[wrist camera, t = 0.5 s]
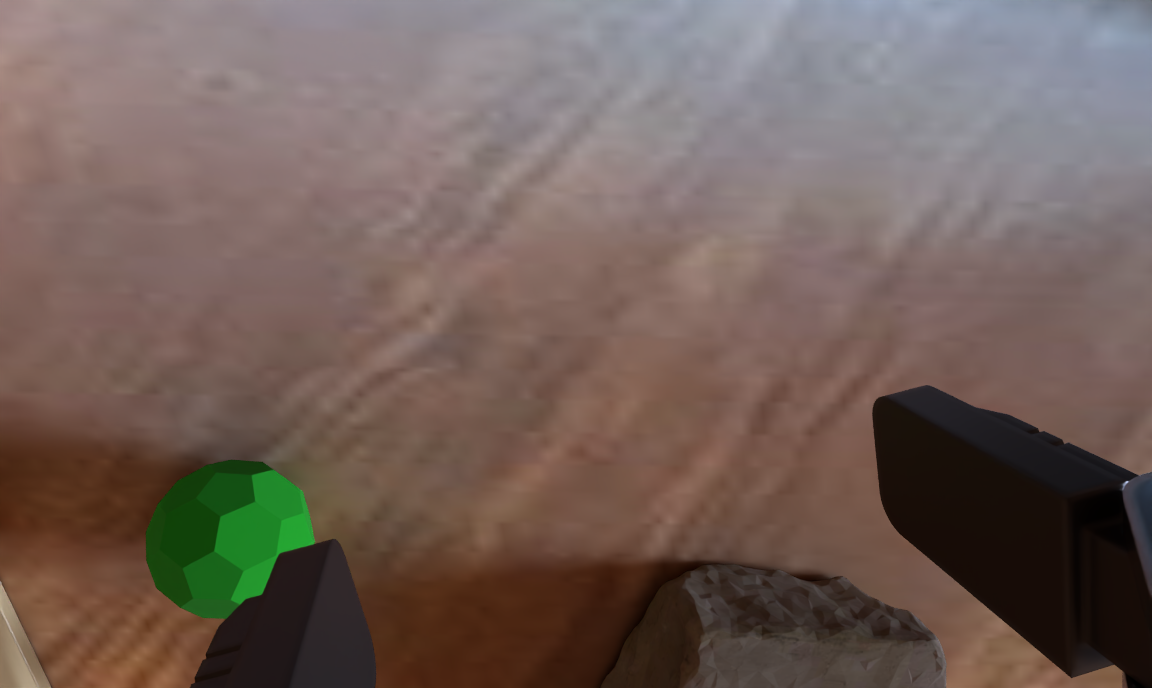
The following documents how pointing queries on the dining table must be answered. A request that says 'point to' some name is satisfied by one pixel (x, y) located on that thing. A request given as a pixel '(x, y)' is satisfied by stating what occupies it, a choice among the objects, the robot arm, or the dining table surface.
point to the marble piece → (774, 636)
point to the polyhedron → (224, 535)
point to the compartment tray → (17, 652)
